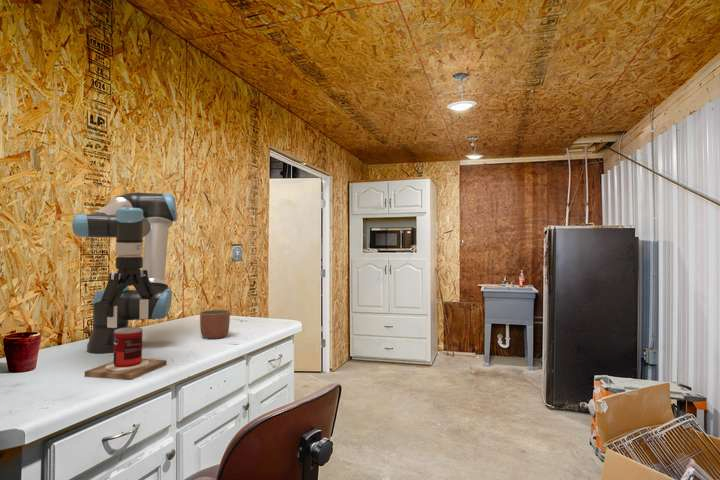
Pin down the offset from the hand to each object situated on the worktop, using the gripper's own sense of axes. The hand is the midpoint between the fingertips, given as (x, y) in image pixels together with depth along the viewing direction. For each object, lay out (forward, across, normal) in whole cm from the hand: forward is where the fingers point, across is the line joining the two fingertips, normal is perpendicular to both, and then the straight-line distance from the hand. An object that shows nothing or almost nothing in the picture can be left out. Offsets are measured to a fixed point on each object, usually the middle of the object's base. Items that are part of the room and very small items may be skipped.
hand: (128, 323), depth 130 cm
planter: (+16, +49, -1) cm, 52 cm away
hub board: (+15, -1, 0) cm, 15 cm away
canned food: (+13, -1, 0) cm, 13 cm away
